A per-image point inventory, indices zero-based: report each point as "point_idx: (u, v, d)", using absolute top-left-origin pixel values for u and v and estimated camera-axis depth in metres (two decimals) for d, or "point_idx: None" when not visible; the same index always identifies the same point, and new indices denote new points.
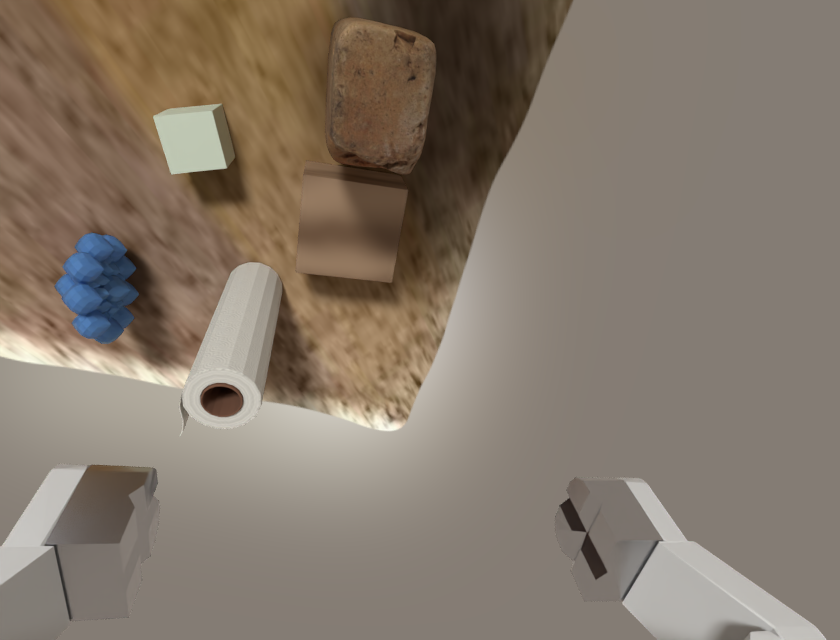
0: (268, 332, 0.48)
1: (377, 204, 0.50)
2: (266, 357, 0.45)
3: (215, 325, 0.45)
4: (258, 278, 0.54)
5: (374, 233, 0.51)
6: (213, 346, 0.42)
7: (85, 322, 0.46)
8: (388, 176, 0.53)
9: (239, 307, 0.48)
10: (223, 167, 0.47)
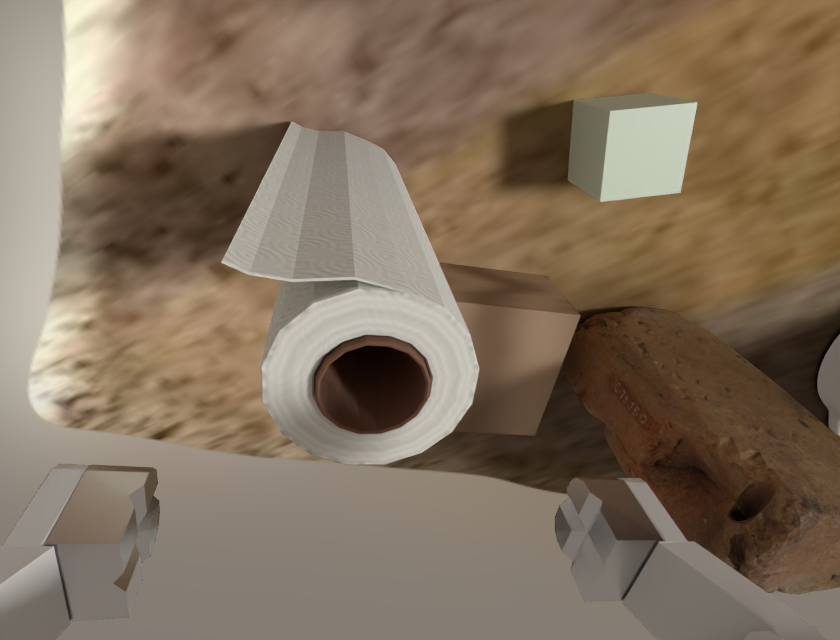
0: None
1: (521, 404, 0.35)
2: None
3: (428, 239, 0.20)
4: None
5: (480, 403, 0.35)
6: None
7: None
8: None
9: None
10: (602, 196, 0.30)
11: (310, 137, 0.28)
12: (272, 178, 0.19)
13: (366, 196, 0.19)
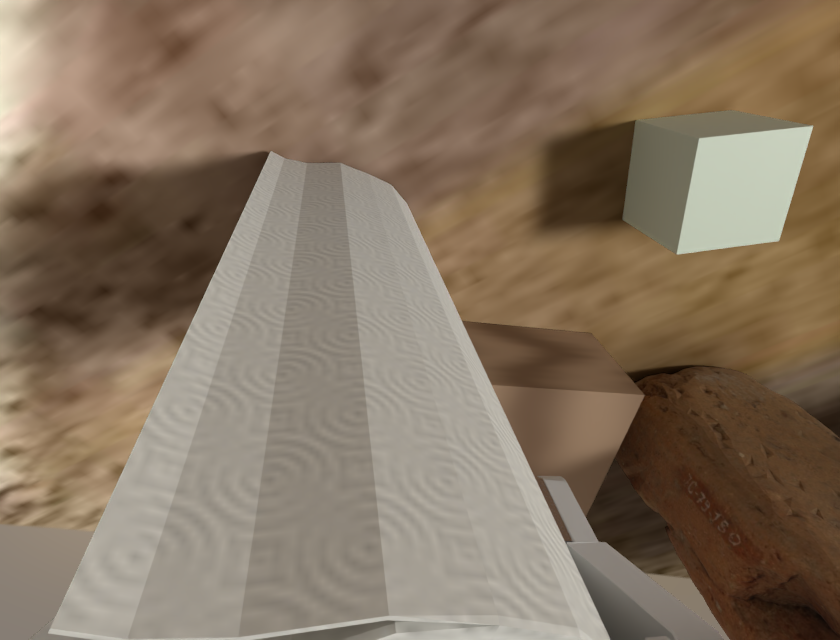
0: None
1: None
2: None
3: (477, 356, 0.13)
4: None
5: None
6: None
7: None
8: None
9: None
10: (679, 248, 0.23)
11: (295, 175, 0.21)
12: (230, 271, 0.12)
13: (381, 295, 0.12)
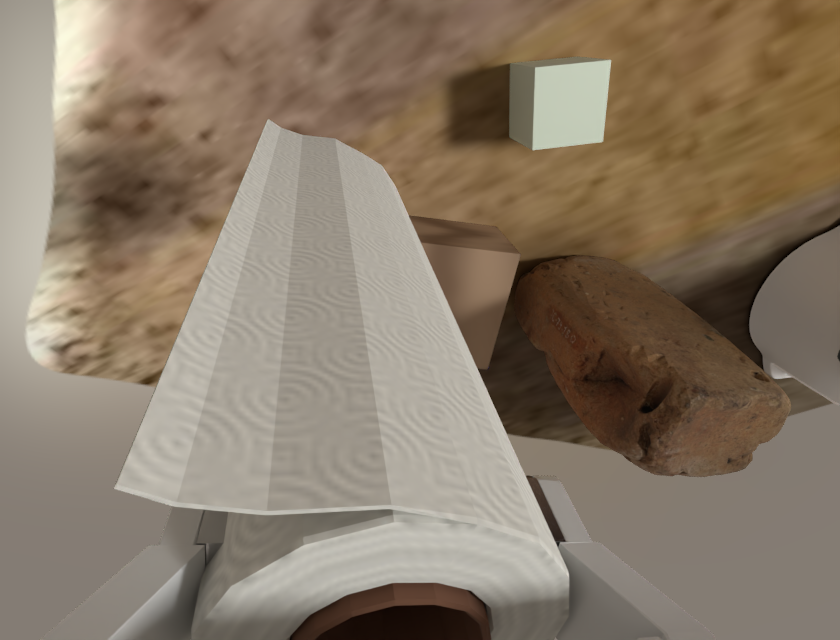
0: None
1: (473, 339, 0.40)
2: None
3: (457, 327, 0.14)
4: None
5: None
6: None
7: None
8: None
9: None
10: (534, 145, 0.34)
11: (292, 145, 0.21)
12: (238, 225, 0.12)
13: (377, 261, 0.13)
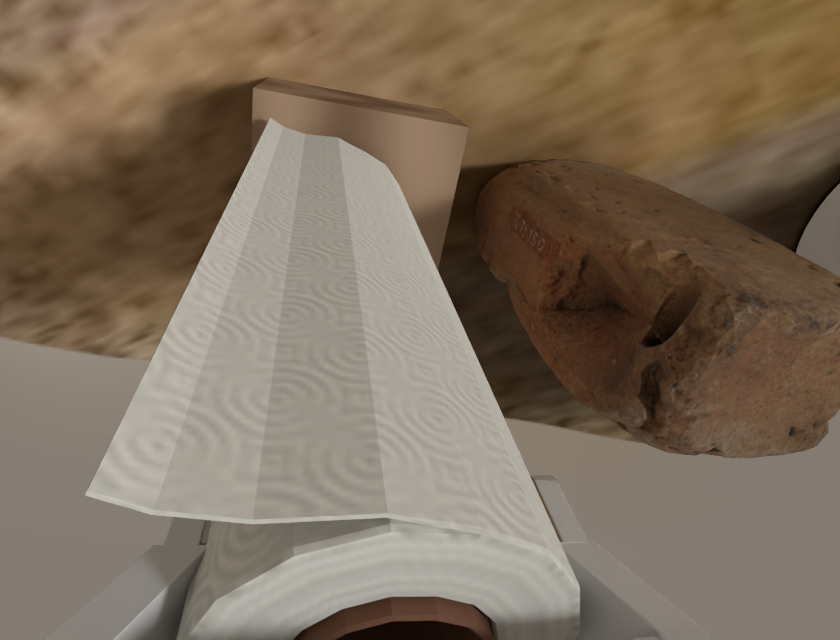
0: None
1: None
2: None
3: (462, 326, 0.14)
4: None
5: None
6: None
7: None
8: None
9: None
10: None
11: (294, 143, 0.21)
12: (235, 220, 0.12)
13: (378, 258, 0.13)
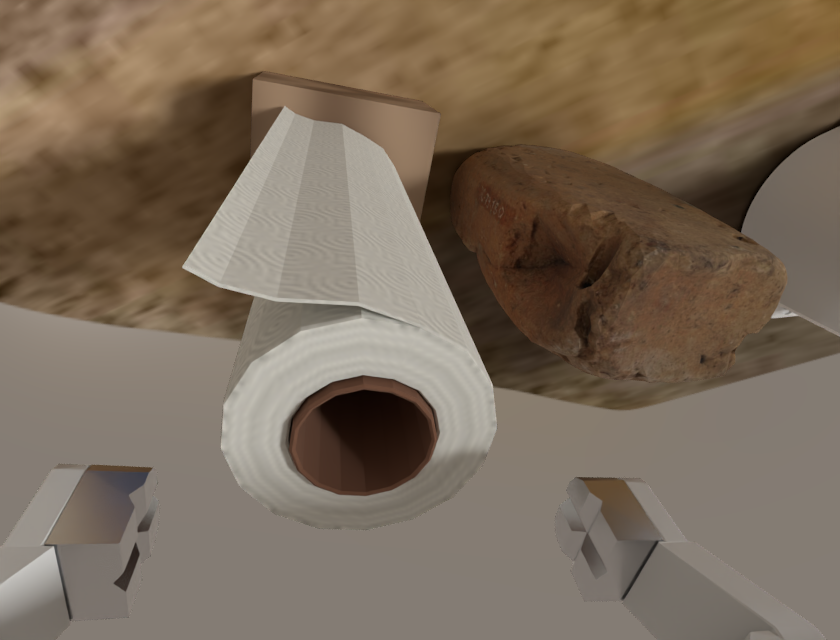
0: None
1: None
2: None
3: (434, 256, 0.17)
4: None
5: None
6: None
7: None
8: None
9: None
10: None
11: (304, 125, 0.25)
12: (259, 165, 0.16)
13: (368, 198, 0.16)
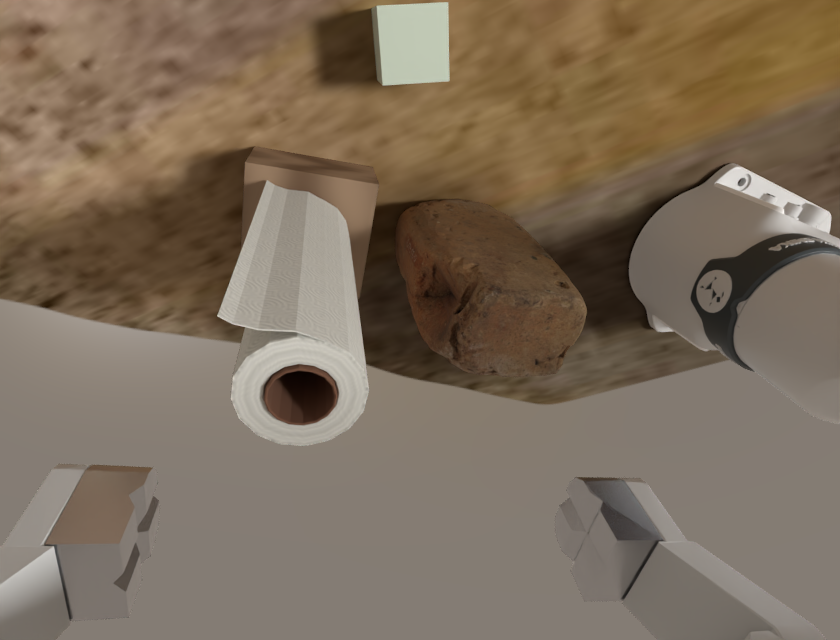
0: None
1: None
2: None
3: (354, 295, 0.29)
4: None
5: None
6: (361, 340, 0.26)
7: None
8: None
9: None
10: (383, 81, 0.37)
11: (280, 197, 0.36)
12: (249, 244, 0.27)
13: (314, 262, 0.28)
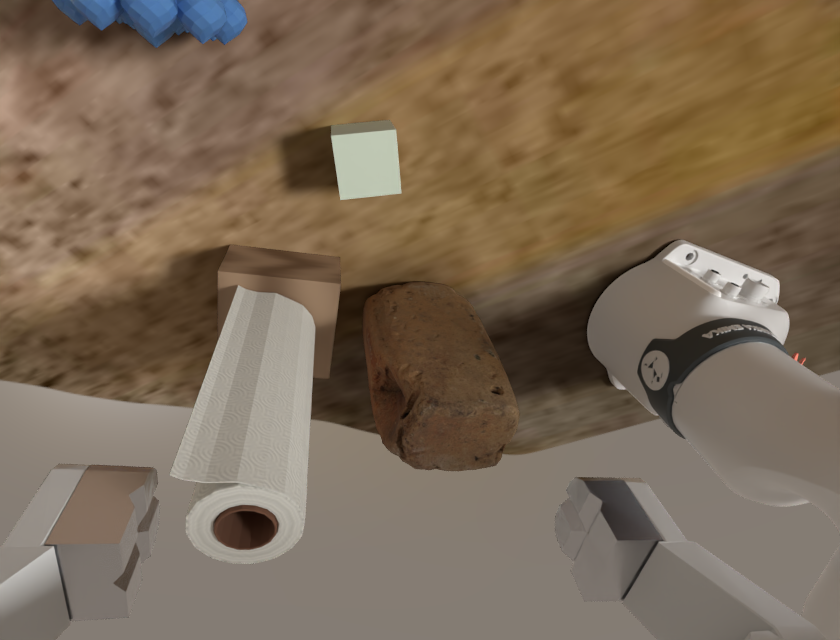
0: None
1: None
2: None
3: (304, 414, 0.33)
4: None
5: None
6: (305, 465, 0.30)
7: None
8: None
9: None
10: (341, 196, 0.41)
11: (248, 305, 0.40)
12: (210, 377, 0.31)
13: (267, 389, 0.32)
